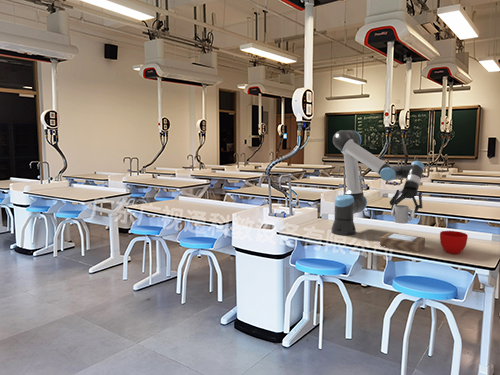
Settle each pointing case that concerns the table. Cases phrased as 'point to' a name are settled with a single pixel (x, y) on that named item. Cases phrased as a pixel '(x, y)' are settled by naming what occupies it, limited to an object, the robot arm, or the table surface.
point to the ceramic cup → (453, 241)
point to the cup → (402, 214)
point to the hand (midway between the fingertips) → (402, 216)
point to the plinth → (402, 242)
